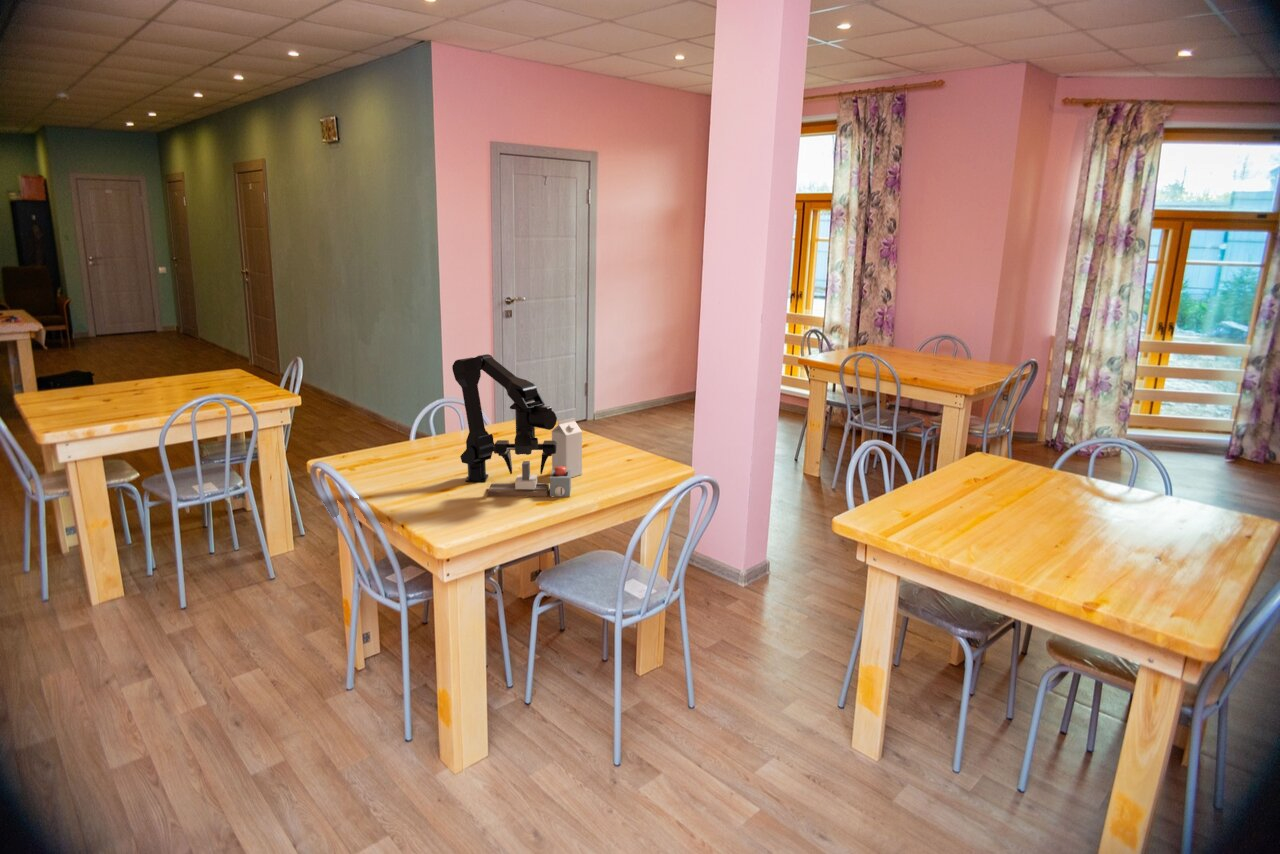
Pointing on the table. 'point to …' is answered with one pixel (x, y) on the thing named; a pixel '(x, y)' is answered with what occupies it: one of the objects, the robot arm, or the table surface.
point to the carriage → (526, 478)
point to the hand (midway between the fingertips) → (526, 473)
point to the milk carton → (568, 446)
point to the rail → (516, 490)
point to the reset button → (560, 470)
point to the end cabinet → (560, 484)
